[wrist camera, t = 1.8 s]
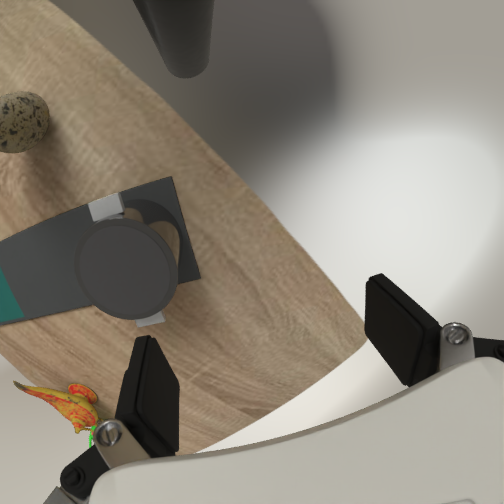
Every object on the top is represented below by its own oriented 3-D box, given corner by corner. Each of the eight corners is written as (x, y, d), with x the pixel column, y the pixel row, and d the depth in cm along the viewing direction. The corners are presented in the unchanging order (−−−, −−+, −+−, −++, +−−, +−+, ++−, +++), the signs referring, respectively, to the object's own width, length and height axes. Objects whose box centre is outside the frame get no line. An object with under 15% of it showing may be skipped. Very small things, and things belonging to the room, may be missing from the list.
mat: (171, 176, 25) (171, 176, 25) (200, 277, 30) (200, 278, 29) (-39, 262, 23) (-41, 263, 23) (-9, 326, 27) (-9, 327, 27)
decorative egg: (14, 144, 20) (-45, 154, 11) (29, 92, 19) (-28, 84, 9) (51, 155, 22) (-8, 167, 13) (68, 100, 20) (13, 88, 11)
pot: (84, 200, 24) (51, 219, 18) (165, 172, 25) (151, 183, 18) (123, 301, 29) (107, 340, 23) (197, 283, 30) (197, 322, 23)
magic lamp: (37, 342, 29) (7, 396, 19) (129, 411, 36) (121, 468, 26) (23, 360, 30) (-3, 409, 20) (108, 422, 37) (99, 474, 27)
